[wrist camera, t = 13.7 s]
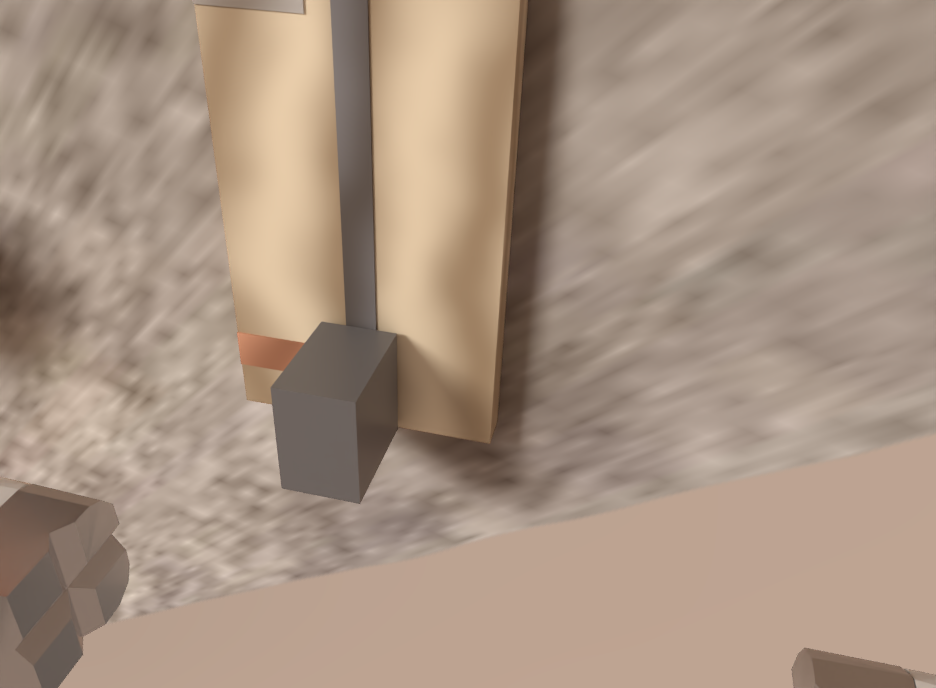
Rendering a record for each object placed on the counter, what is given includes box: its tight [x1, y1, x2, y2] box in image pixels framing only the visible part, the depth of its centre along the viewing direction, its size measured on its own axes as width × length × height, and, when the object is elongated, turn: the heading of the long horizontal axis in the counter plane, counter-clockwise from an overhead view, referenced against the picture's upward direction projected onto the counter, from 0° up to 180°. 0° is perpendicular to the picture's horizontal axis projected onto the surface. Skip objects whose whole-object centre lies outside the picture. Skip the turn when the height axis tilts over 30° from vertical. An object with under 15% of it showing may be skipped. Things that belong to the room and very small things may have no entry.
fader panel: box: [193, 0, 528, 444], centre depth 39 cm, size 14×25×2 cm, turn 178°
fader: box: [270, 322, 398, 504], centre depth 40 cm, size 4×6×6 cm, turn 178°
